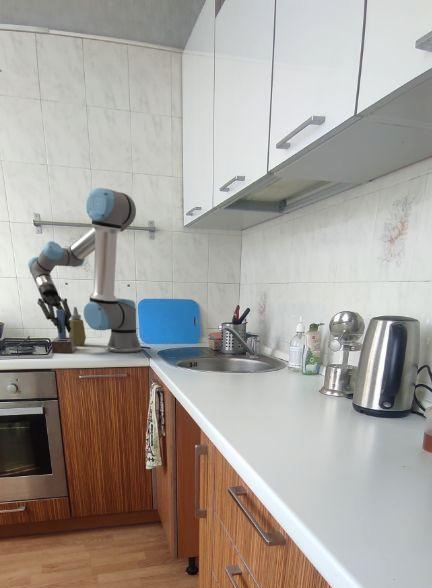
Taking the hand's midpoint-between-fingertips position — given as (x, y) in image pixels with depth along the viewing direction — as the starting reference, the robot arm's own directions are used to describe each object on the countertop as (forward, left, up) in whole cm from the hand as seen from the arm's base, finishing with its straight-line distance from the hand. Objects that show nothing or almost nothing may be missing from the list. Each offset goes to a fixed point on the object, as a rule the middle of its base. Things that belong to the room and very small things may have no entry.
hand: (65, 330), depth 205 cm
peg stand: (+2, -6, -10) cm, 12 cm away
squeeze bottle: (-2, -23, -10) cm, 25 cm away
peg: (+2, -3, -4) cm, 5 cm away
